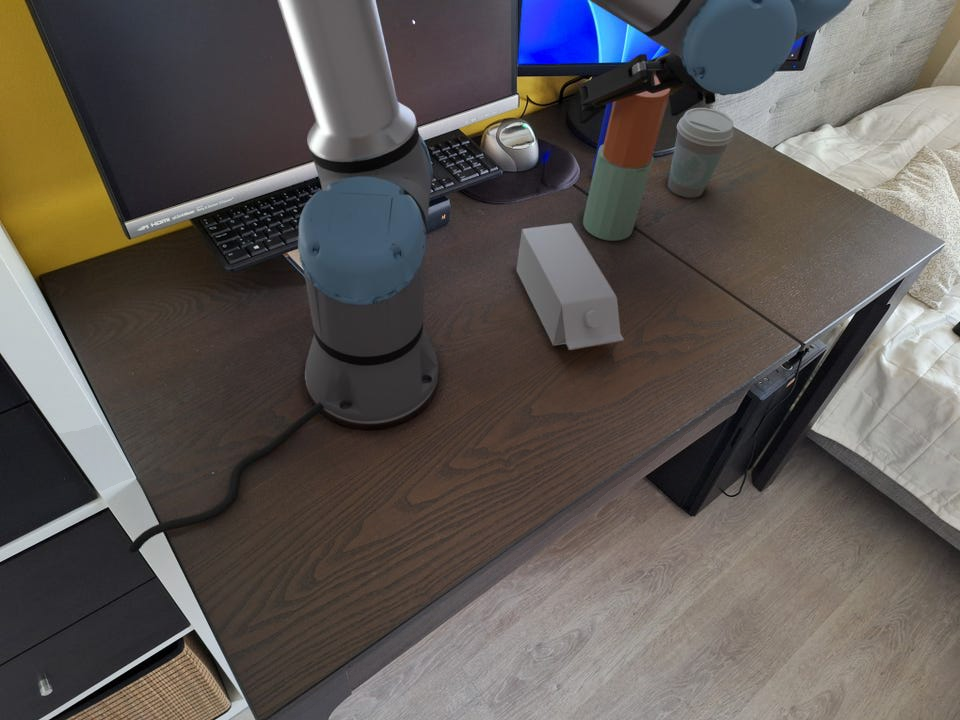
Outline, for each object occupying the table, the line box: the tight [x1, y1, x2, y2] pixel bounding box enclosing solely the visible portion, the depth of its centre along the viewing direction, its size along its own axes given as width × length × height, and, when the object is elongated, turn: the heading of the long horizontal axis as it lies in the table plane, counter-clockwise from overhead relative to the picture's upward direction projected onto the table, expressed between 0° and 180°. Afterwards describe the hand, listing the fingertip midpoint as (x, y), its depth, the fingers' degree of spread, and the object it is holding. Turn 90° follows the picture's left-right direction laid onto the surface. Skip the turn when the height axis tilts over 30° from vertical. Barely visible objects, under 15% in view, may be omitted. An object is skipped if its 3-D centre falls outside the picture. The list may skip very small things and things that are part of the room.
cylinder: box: [603, 75, 671, 168], centre depth 89 cm, size 7×7×10 cm
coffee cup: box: [667, 107, 735, 199], centre depth 106 cm, size 8×9×12 cm
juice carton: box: [515, 222, 625, 351], centre depth 85 cm, size 7×7×19 cm
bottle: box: [582, 144, 655, 242], centre depth 96 cm, size 8×8×16 cm
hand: (627, 109), depth 90 cm, fingers open, 13 cm apart
